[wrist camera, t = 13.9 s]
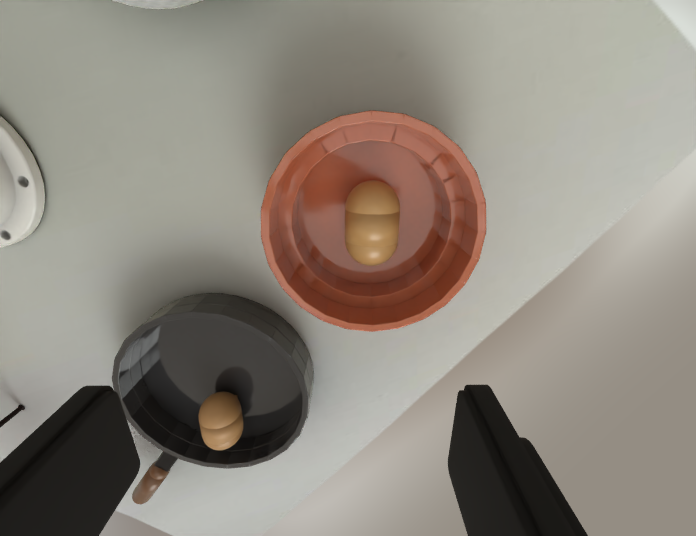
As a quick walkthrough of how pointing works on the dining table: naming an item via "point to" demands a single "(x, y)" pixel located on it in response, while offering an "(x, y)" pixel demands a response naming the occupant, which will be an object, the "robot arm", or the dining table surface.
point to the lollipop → (11, 415)
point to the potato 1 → (221, 420)
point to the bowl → (414, 227)
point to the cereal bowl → (158, 3)
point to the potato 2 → (372, 222)
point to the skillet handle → (153, 478)
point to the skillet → (215, 377)
